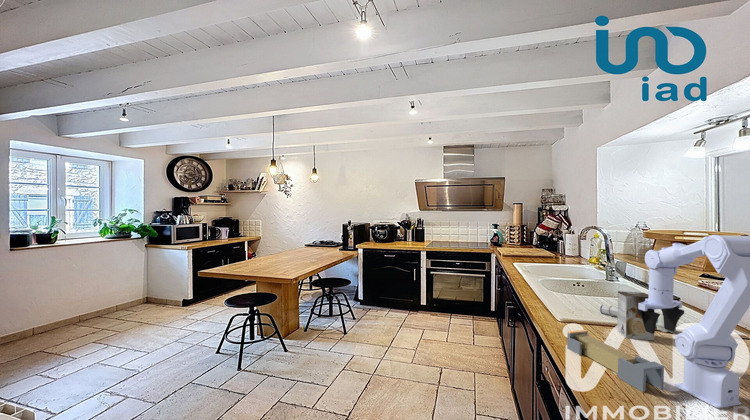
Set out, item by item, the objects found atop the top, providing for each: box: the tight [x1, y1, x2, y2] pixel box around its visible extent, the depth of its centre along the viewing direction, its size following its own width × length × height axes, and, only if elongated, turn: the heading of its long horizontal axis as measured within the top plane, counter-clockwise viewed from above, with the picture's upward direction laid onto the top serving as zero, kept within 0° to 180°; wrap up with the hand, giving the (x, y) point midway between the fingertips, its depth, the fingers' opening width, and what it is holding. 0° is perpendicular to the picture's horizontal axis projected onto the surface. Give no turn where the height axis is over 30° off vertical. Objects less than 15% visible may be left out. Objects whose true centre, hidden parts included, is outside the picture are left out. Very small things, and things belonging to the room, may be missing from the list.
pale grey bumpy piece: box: [599, 304, 678, 334], centre depth 129 cm, size 5×7×25 cm
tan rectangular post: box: [576, 333, 636, 374], centre depth 97 cm, size 17×4×5 cm, turn 11°
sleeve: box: [617, 355, 665, 393], centre depth 86 cm, size 7×7×6 cm
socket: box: [566, 329, 588, 356], centre depth 105 cm, size 5×7×6 cm
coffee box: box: [616, 290, 655, 341], centre depth 116 cm, size 9×6×16 cm
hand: (659, 331), depth 97 cm, fingers open, 7 cm apart
